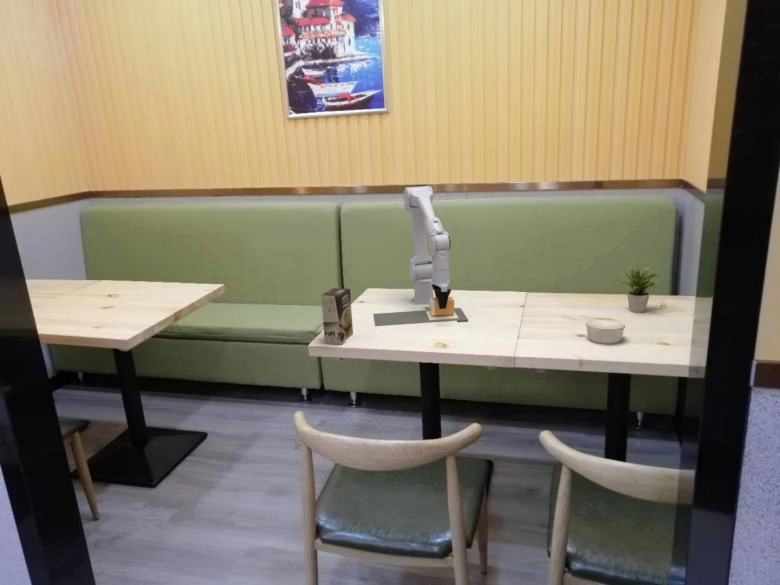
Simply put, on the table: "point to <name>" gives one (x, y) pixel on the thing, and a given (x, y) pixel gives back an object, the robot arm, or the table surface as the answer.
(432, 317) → the pad
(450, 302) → the card box
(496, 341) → the table surface
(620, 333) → the ramekin
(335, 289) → the coffee box
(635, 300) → the house plant
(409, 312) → the mat
